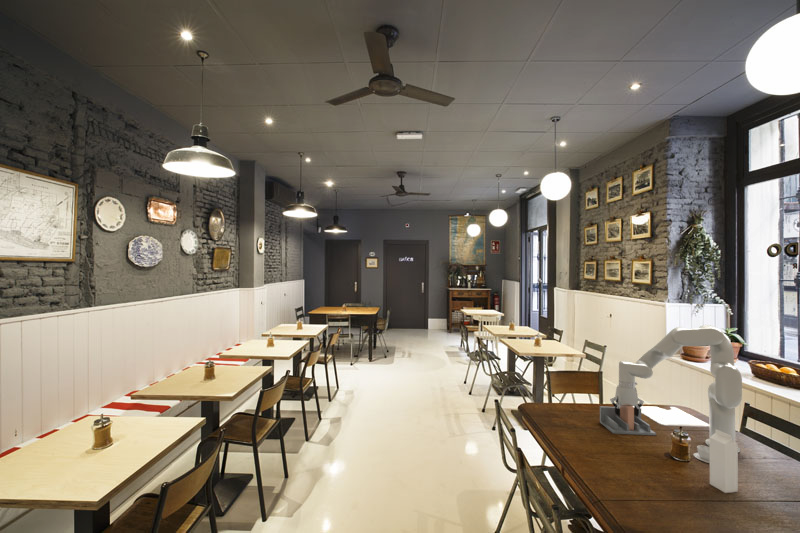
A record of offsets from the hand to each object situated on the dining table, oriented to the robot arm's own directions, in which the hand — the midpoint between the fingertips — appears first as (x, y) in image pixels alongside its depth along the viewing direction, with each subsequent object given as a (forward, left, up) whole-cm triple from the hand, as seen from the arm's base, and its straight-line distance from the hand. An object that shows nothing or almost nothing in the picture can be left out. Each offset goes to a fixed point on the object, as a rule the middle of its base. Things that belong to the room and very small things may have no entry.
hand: (626, 415), depth 194 cm
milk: (-53, -8, -7) cm, 54 cm away
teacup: (-30, -19, -8) cm, 36 cm away
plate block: (0, 0, -6) cm, 6 cm away
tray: (+21, -36, -8) cm, 43 cm away
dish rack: (0, 0, -7) cm, 7 cm away
